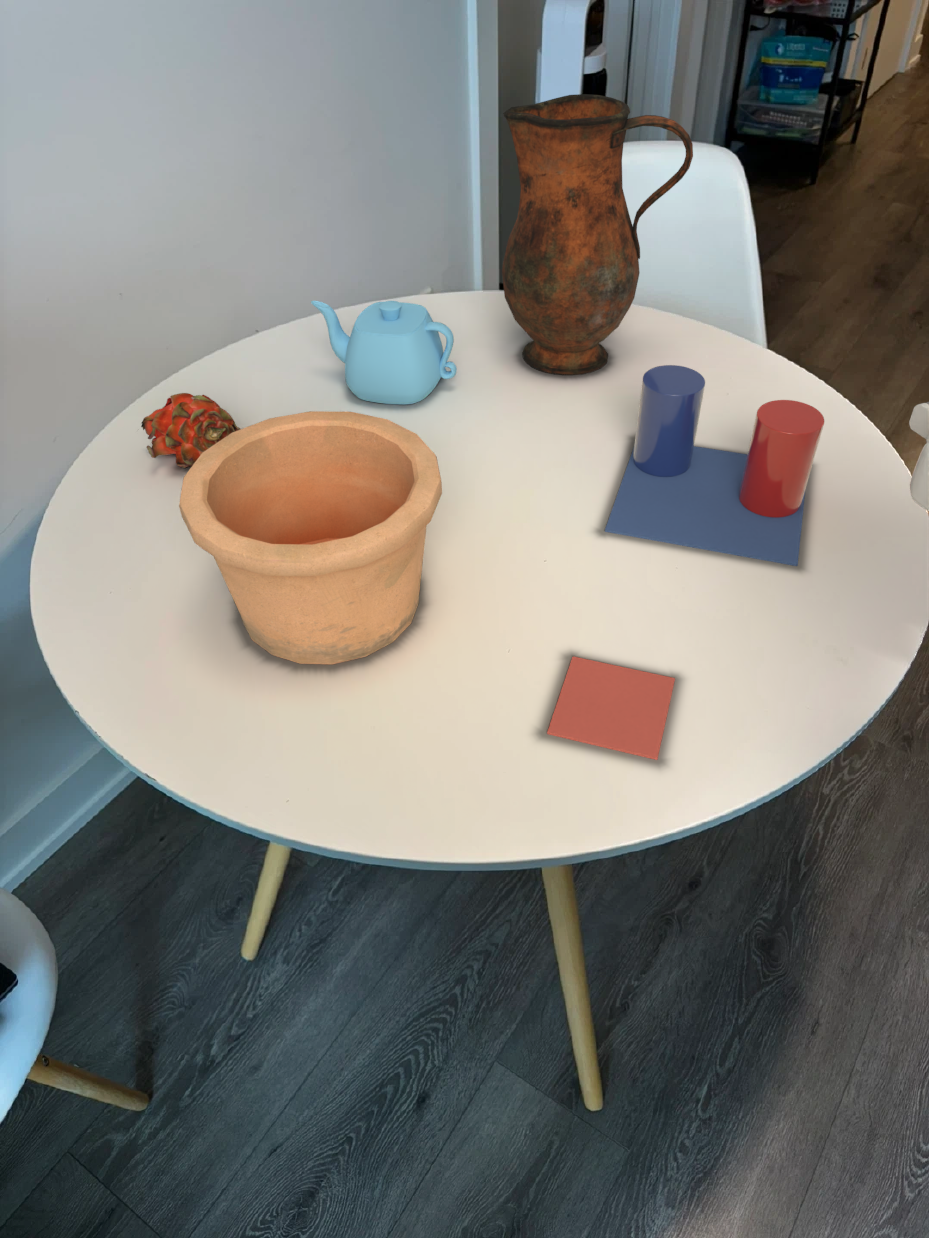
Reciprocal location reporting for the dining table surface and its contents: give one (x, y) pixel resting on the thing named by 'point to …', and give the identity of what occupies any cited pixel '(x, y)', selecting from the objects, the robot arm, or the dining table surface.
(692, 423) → the blue canister
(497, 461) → the dining table surface
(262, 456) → the pottery
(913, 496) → the robot arm
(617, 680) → the red mat
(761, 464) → the red canister
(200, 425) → the dragon fruit
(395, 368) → the teapot
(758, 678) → the dining table surface
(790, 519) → the blue mat
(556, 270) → the pitcher
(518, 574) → the dining table surface
